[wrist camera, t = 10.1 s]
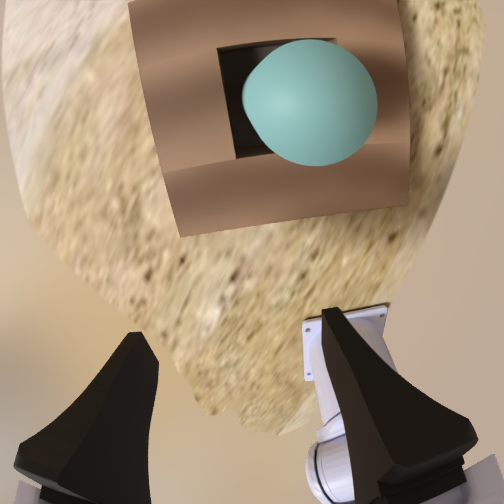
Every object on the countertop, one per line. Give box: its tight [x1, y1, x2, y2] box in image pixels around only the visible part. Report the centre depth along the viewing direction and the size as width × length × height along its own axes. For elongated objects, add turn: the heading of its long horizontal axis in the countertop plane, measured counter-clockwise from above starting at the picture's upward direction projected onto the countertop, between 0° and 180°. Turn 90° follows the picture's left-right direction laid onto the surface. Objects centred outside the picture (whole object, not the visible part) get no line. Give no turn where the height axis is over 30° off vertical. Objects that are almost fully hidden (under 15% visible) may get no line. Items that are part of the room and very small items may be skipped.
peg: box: [241, 39, 378, 166], centre depth 12 cm, size 4×4×8 cm
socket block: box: [128, 0, 410, 238], centre depth 15 cm, size 14×14×3 cm
